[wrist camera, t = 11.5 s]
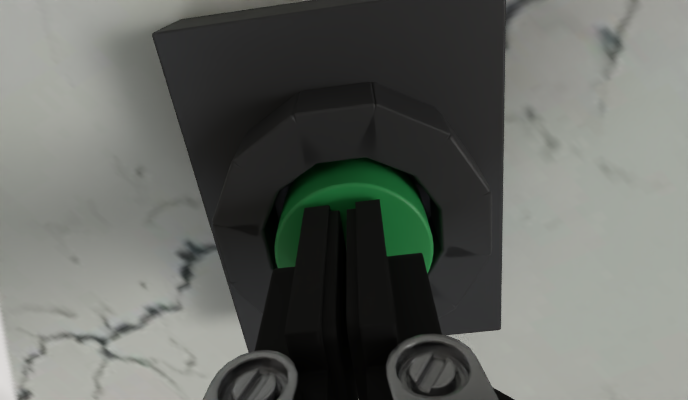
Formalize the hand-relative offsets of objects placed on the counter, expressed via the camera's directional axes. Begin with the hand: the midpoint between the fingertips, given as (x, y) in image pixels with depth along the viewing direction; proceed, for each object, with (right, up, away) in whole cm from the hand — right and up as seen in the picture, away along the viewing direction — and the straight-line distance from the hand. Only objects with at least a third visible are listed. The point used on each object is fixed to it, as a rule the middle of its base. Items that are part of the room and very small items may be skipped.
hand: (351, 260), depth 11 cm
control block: (0, +2, +4) cm, 5 cm away
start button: (0, +1, +2) cm, 2 cm away
